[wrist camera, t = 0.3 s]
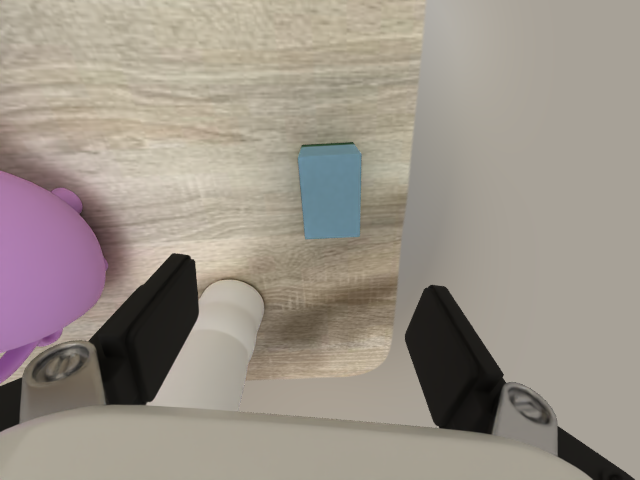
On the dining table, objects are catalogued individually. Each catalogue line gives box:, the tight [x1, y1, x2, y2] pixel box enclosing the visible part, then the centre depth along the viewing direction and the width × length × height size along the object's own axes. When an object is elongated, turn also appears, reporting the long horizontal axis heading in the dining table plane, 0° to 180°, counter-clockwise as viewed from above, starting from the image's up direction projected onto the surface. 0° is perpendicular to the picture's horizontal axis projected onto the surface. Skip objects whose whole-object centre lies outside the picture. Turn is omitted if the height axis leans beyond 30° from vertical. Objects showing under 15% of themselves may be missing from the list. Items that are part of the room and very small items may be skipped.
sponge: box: [298, 142, 361, 239], centre depth 22 cm, size 6×4×5 cm
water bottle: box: [146, 280, 264, 411], centre depth 20 cm, size 7×7×25 cm
